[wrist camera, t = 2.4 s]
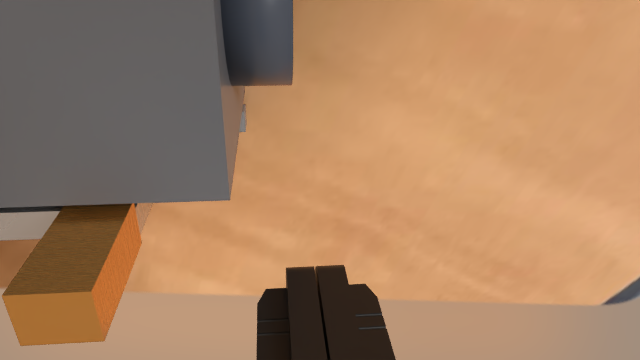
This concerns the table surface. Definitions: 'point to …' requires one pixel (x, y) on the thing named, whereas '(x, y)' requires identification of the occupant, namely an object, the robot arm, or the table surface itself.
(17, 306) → the side door
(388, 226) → the table surface
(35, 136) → the grey box machine
